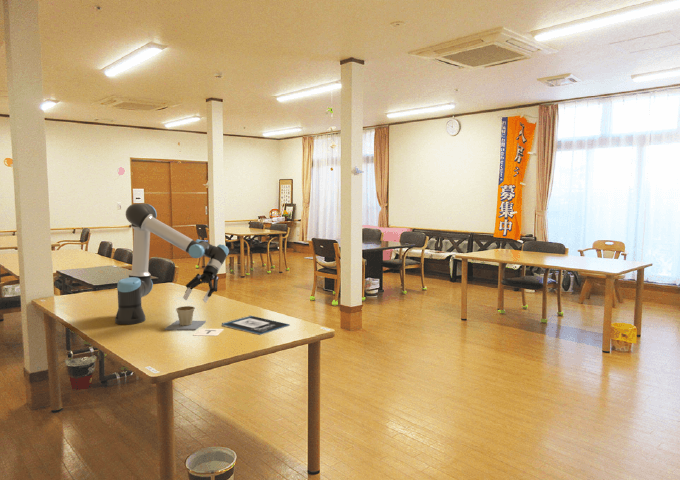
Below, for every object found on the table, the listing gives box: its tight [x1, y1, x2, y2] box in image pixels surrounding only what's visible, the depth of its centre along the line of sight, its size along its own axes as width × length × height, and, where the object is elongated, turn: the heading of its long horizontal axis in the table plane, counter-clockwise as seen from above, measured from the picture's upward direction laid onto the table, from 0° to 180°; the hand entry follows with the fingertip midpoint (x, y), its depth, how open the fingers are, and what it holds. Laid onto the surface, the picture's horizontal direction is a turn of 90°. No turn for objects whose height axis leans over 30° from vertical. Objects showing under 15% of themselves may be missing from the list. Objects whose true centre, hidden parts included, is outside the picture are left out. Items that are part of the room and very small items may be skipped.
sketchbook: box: [221, 315, 291, 336], centre depth 243 cm, size 22×30×2 cm
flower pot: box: [175, 305, 195, 326], centre depth 242 cm, size 9×9×9 cm
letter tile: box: [192, 328, 225, 337], centre depth 230 cm, size 12×12×1 cm
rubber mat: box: [164, 319, 207, 331], centre depth 242 cm, size 16×16×1 cm
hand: (194, 300), depth 246 cm, fingers open, 13 cm apart
